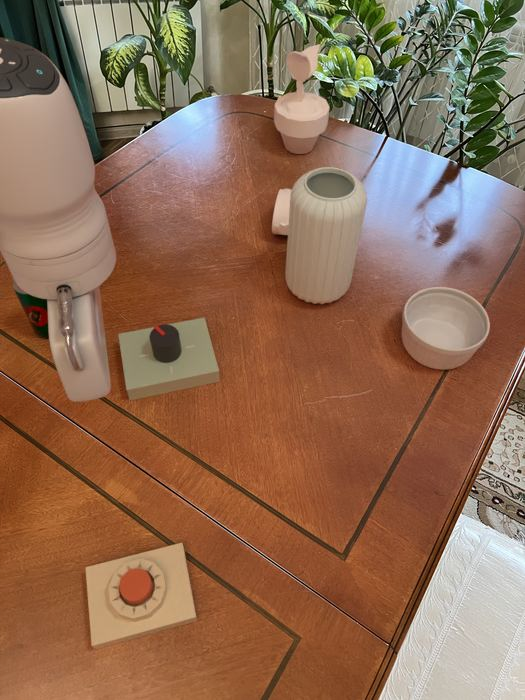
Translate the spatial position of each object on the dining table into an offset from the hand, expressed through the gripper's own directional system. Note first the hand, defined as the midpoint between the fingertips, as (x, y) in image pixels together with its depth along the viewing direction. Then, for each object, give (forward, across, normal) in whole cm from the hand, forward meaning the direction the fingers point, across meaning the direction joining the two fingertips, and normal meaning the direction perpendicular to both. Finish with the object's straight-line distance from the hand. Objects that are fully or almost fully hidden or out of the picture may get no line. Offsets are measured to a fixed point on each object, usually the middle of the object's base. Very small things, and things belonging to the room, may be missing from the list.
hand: (94, 347), depth 59 cm
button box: (+27, -18, +1) cm, 32 cm away
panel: (+27, +16, -7) cm, 32 cm away
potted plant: (+27, +68, -45) cm, 86 cm away
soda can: (+27, +28, +11) cm, 40 cm away
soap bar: (+27, +42, -37) cm, 62 cm away
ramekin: (+27, +9, -50) cm, 58 cm away
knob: (+24, +16, -7) cm, 30 cm away
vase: (+27, +26, -35) cm, 52 cm away
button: (+23, -18, +1) cm, 29 cm away
